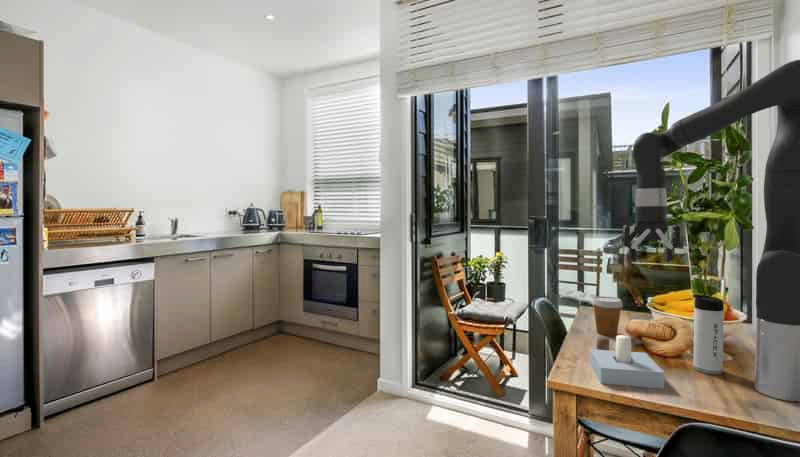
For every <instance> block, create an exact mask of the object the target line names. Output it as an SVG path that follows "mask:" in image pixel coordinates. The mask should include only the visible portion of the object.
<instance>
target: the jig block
mask: <svg viewBox="0 0 800 457" xmlns="http://www.w3.org/2000/svg"><path fill="white" fill-rule="evenodd" d="M589 363H590V365H591V368H592V370H593V371H594V374H595V375H596V378H597V379H598V380H599V383H600V384H602V385H613V386H625V387H626V386H628V387H638V388H650V389H651V388H652V389H660V390H661V389H662V390H665V371H664V370H663V369H662V368H661V367H660V366H659V364H657V363H656V362H655V361H654V360H653V359H652V358H651V357H650V356H649V355H648V354H647V352H641V351H640V352H637V351H631V364H630V363H617V362H616V350H610V349H609V350H597V349H594V348H593V349H592V348H590V349H589Z"/></svg>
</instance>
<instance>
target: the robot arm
mask: <svg viewBox="0 0 800 457" xmlns="http://www.w3.org/2000/svg"><path fill="white" fill-rule="evenodd" d="M776 106H777V107H776ZM773 107H776V108H777V109H776V110H777V125H776V126H777V127H776V133H775V136H774V137H775V138H774V140H773V142H772V145H771V148H770V151H769V153H768V155H767V159H766V164H765V169H764V178H763V179H764V181H763V182H764V183H763V204H764V213H765V221H766V222H765V223H766V231H765V233H766V234H765V240H764V245H763V250H762V254H761V258H760V259H759V262H758V264H757V266H756V275H755V278H756V280H755V281H756V282H755V289H756V290H755V308H756V309H755V310H756V311H755V312H756V314H755V317H756V320H755V354H754V355H755V361H754V389H755V390H756V391H757V392H759V393H760V394H762V395H765V396H768V397H771V398H773V399H778V400H781V401H788V402H795V401H797V402H799V403H800V59H795V60H792V61H789V62H787V63H785V64H782V65H780V67H778V68H776V69H774V70H773V71H771V72H770V73H768V74H767V75H765V76H763V77H762V78H760V79H758V80H756V81H755V82H753V83H752V84H750V85H748V86H747V87H745V88H743V89H741V90H740V91H738V92H736V93H734V94H732V95H730V96H728V97H726V98H724V99H722V100H720V101H719V102H716V103H714V104H712V105H710V106H708V107H704V109H701V110H698V111H696V112H694V113H692V114H690V115H688V116H685V117H682V118H681V119H679V120H677V121H675V122H673V123H672V124H671V126H670V127H669V128H667V129H666V130H664V131H661V132H659V133H654V132H644V133H642V134H640V135H638V136H637V138H636V139H635V141H634V143H633V147H632V156H633V161H634V167H635V170H636V194H635V202H634V203H635V222H634V226H632V225H631V226H630V225H623V227H622V233H621V235H622V236H621V245H622V246H623V247H626V248H628V259H629V260H630V261H631V262H633V263H636V262H637V247H638V245H640V244H641V243H642V242H643V241H645V242H646V241H647V242H648V241H649V242H650V241H654V242H655V241H656V242H657V241H659V242H660V243H661V244H662V245H663V246H664V247H665V248H664V254H663V256H664V257H663V258H664V259H663V260H664V261H663V262H664V263H667V264H668V263H670V262H671V261H672V259H673V250H674V249H675V248H679V247H681V245H682V244H681V227H680V226H679V225H677V224H673V225H668V224H667V210H668V208H667V204H668V203H667V202H668V197H667V188H666V187H667V178H666V177H667V174H666V169H664V168H663V166H662V162H661V159H662V158H665V157H668V156H670V155H672V154H674V153H676V152H677V151H679V150H681V149H682V148H684V147H687V146H688V145H691V144H694V143H696V142H699V141H702V140H704V139H707V138H709V137H711V136H713V135H715V134H717V133H720V132H721V131H723V130H725V129H727V128H728V127H730V126H732V125H733V124H735V123H737V122H738V121H741V120H742V119H744V118H746V117H748V116H751V115H752V114H755V113H757V112H760V111H763V110H767V109H769V108H773ZM656 192H657V193H656ZM633 231H634V232H635V234H636V235H635V236H634V237H633V239H632V240H631V241H630V234H632V233H633ZM668 231H669V233H671V242H670V240H669V239H668V237H666V235H665V234H666V233H667V232H668Z"/></svg>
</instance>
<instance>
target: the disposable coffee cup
mask: <svg viewBox="0 0 800 457" xmlns="http://www.w3.org/2000/svg"><path fill="white" fill-rule="evenodd" d="M591 302H592V305H593V312H594V313H593V314H594V318H595V319H594V320H595V326H596V327H595V328H596V333H597V334H599V335H602V336H605V337H606V336H608V337H612V336H618V330H619V323H620V317H621V311H622V307H623V302H622V299H620V298H617V297H613V296H595V297H593V300H592V301H591Z"/></svg>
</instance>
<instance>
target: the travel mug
mask: <svg viewBox="0 0 800 457" xmlns="http://www.w3.org/2000/svg"><path fill="white" fill-rule="evenodd" d="M692 298H694V311H693V313H694V314H693V364H692V365H693V370H695V371H697V372H699V373H702V374H706V375H712V376H713V375H714V376H718V375H722V373H723V371H724V370H723V367H724V365H723V364H724V361H723V360H724V328H725V327H724V323H725V322H724V321H725V318H724V317H725V314H724V312H725V309H724V308H725V307H724V304H725V303H724V300H723V299H722V298H718V297H714V296H710V295H703V294H699V293H695V294H693V295H692Z"/></svg>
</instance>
